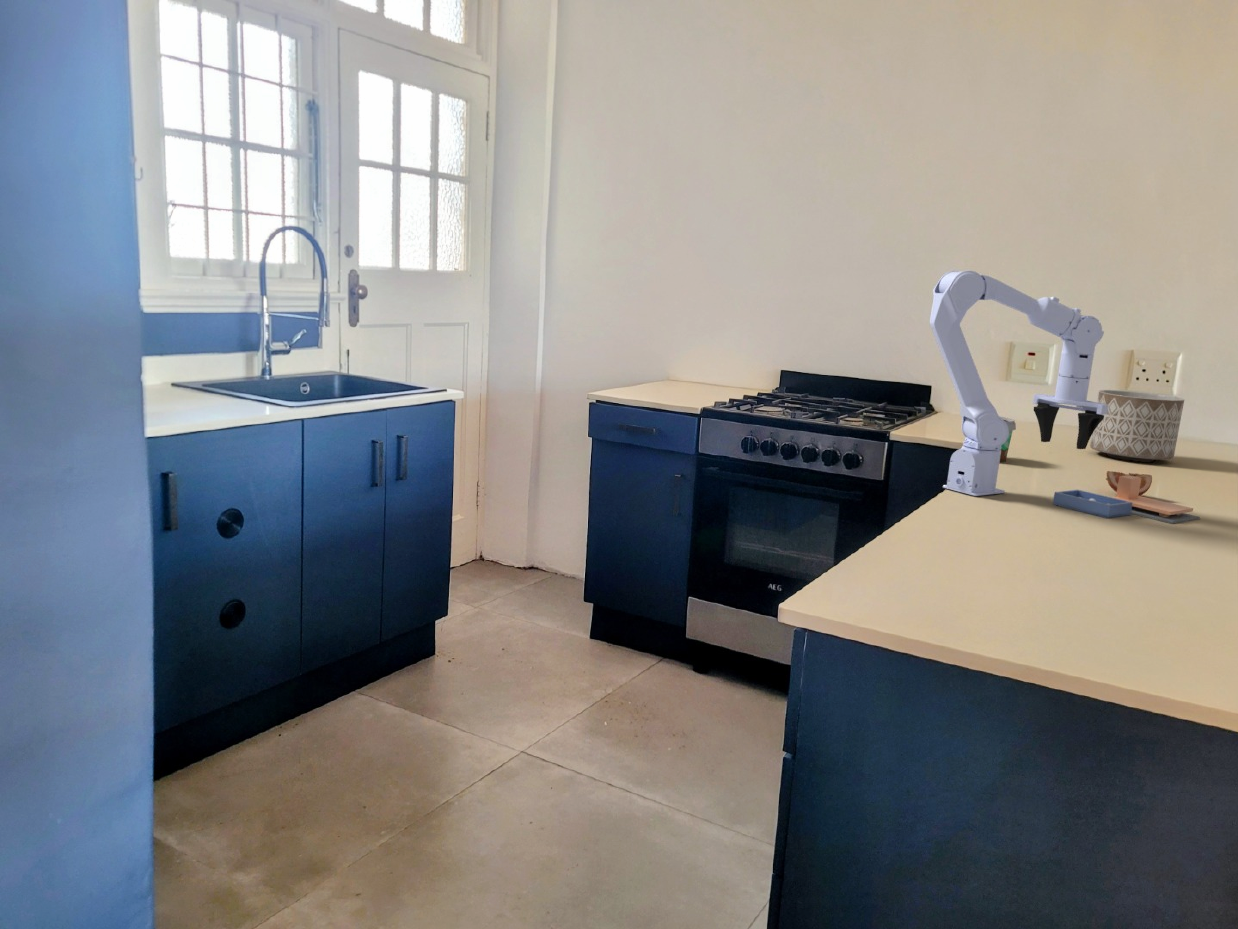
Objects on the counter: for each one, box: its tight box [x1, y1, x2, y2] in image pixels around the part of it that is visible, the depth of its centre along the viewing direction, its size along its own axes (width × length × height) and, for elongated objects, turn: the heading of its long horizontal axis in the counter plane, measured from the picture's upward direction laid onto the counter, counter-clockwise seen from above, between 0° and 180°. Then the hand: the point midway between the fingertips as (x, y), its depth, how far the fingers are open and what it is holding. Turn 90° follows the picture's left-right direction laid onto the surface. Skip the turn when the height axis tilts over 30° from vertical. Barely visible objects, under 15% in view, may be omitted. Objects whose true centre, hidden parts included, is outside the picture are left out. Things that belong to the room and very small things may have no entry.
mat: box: [1131, 506, 1201, 525], centre depth 179 cm, size 10×13×1 cm
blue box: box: [1052, 489, 1133, 519], centre depth 178 cm, size 8×11×2 cm
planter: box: [1089, 389, 1185, 463], centre depth 242 cm, size 19×19×16 cm
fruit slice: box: [1105, 470, 1153, 496], centre depth 193 cm, size 8×7×5 cm
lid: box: [1110, 475, 1194, 517], centre depth 178 cm, size 8×12×6 cm
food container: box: [998, 415, 1017, 463], centre depth 227 cm, size 12×6×10 cm, turn 168°
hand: (1062, 445), depth 187 cm, fingers open, 7 cm apart
